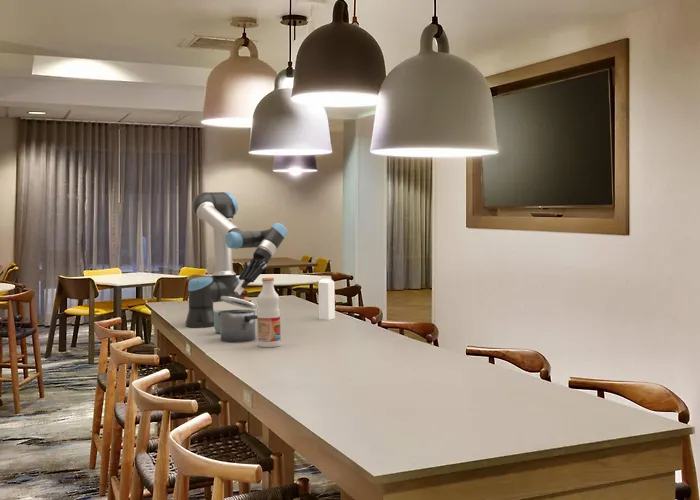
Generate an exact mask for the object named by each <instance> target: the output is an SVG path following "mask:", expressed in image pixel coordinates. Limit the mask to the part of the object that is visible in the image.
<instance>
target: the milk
mask: <svg viewBox="0 0 700 500" xmlns="http://www.w3.org/2000/svg"><path fill="white" fill-rule="evenodd" d="M317 284H318V319H319V320H320V321H321V320H323V321H331V320H335V319H336V307H335V306H336V305H335V304H336V302H335V301H336V299H335V298H336V297H335V296H336V295H335V294H336V293H335V289H336V288H335V281H334V280H333V279H332V275H321V277H320V280H319V281H318V283H317Z"/></svg>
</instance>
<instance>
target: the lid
mask: <svg viewBox="0 0 700 500" xmlns="http://www.w3.org/2000/svg"><path fill="white" fill-rule="evenodd" d="M221 300H222V301H223V303H225V304H230V305H233V306H236V307H240V308H244V309H248V310H257V309H258V304H255V303H254V302H252V299H251V298H250V297H248V296H244V297H243V296H241V295H239V296H238V295H236V294H233V293H229V296H221Z"/></svg>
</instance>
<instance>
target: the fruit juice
mask: <svg viewBox="0 0 700 500" xmlns="http://www.w3.org/2000/svg"><path fill="white" fill-rule="evenodd" d="M261 282H262V288H261V290H260V293H258V295H257V300H256V301H257V311H256V312H257V313H256V315H257V319H256V321H257V327H256V328H257V346H258V347H260V348H275V347H279V346H281V343H282V341H281V340H282V339H281V309H280V308H279V304H280V295H279V294H278V293H277V291H276V290H275V286H274V283H275V279H274V277H262V278H261Z"/></svg>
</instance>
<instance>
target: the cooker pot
mask: <svg viewBox="0 0 700 500" xmlns="http://www.w3.org/2000/svg"><path fill="white" fill-rule="evenodd" d="M225 310H226V311H221V312H220V313H219V316H220V333H219V335H220V341H221V342H224V343H245V342H252V341H255V340H256V339H257V338H256V337H257V336H256V320H257V314H256V310H255V309H225Z"/></svg>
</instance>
